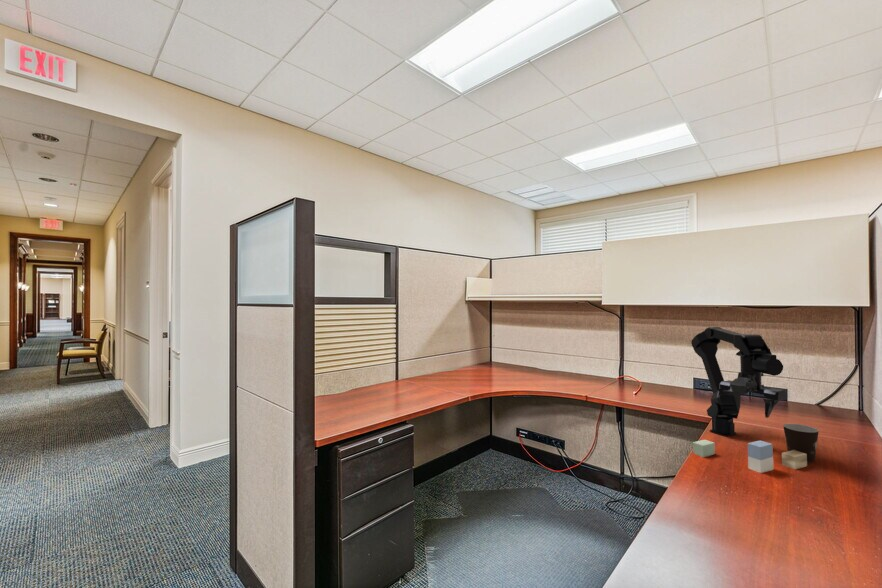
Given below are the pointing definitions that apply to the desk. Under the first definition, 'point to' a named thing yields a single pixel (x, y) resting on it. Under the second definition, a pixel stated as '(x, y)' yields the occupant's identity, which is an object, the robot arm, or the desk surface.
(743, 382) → the robot arm
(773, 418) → the desk surface
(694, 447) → the sage block
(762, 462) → the cream block
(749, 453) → the blue block
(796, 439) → the coffee mug
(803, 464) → the maple block
